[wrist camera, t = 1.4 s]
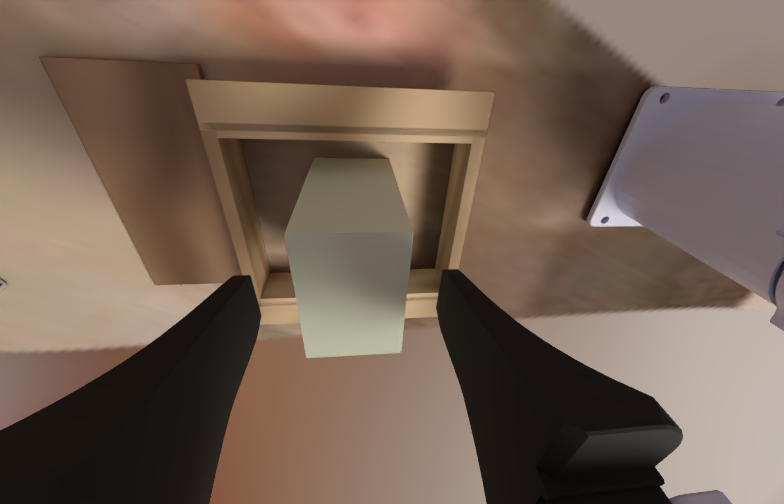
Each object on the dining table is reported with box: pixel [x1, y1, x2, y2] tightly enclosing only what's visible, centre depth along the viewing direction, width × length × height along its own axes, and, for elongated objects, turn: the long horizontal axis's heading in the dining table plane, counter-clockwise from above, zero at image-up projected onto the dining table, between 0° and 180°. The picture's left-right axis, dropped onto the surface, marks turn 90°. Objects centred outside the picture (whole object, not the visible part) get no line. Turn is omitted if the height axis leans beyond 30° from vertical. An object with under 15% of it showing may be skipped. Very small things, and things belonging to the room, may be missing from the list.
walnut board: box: [39, 57, 242, 285], centre depth 16 cm, size 6×12×1 cm, turn 177°
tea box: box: [284, 158, 413, 358], centre depth 14 cm, size 4×6×8 cm
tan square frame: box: [185, 79, 495, 324], centre depth 17 cm, size 12×13×2 cm
